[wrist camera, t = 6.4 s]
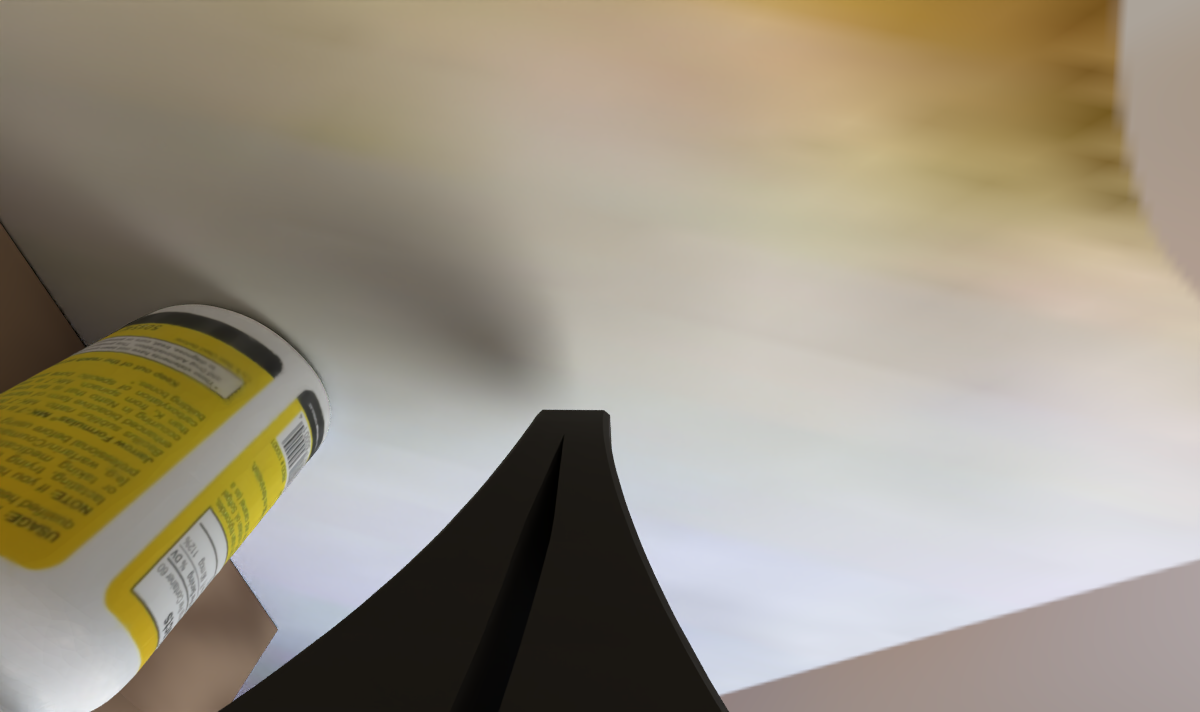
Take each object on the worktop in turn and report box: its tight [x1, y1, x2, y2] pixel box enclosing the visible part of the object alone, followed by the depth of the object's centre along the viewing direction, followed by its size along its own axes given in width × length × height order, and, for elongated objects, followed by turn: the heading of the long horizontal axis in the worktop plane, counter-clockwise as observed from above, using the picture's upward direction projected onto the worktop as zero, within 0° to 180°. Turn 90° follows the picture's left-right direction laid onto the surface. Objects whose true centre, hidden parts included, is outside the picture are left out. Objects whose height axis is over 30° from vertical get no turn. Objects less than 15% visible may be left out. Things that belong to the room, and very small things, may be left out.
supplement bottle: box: [0, 304, 331, 712], centre depth 9 cm, size 5×5×8 cm
